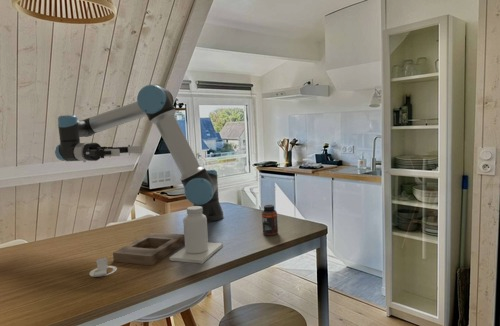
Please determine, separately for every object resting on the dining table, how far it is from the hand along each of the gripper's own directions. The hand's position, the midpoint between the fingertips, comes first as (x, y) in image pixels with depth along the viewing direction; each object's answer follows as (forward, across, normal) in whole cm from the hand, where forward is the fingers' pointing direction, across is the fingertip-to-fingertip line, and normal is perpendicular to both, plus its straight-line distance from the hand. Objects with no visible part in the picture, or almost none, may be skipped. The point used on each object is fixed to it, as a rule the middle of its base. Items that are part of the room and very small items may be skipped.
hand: (130, 150), depth 138 cm
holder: (+17, +14, -35) cm, 41 cm away
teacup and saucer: (+10, +35, -36) cm, 51 cm away
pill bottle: (+34, +12, -34) cm, 49 cm away
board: (+34, +12, -35) cm, 50 cm away
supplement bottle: (+53, -13, -35) cm, 65 cm away
